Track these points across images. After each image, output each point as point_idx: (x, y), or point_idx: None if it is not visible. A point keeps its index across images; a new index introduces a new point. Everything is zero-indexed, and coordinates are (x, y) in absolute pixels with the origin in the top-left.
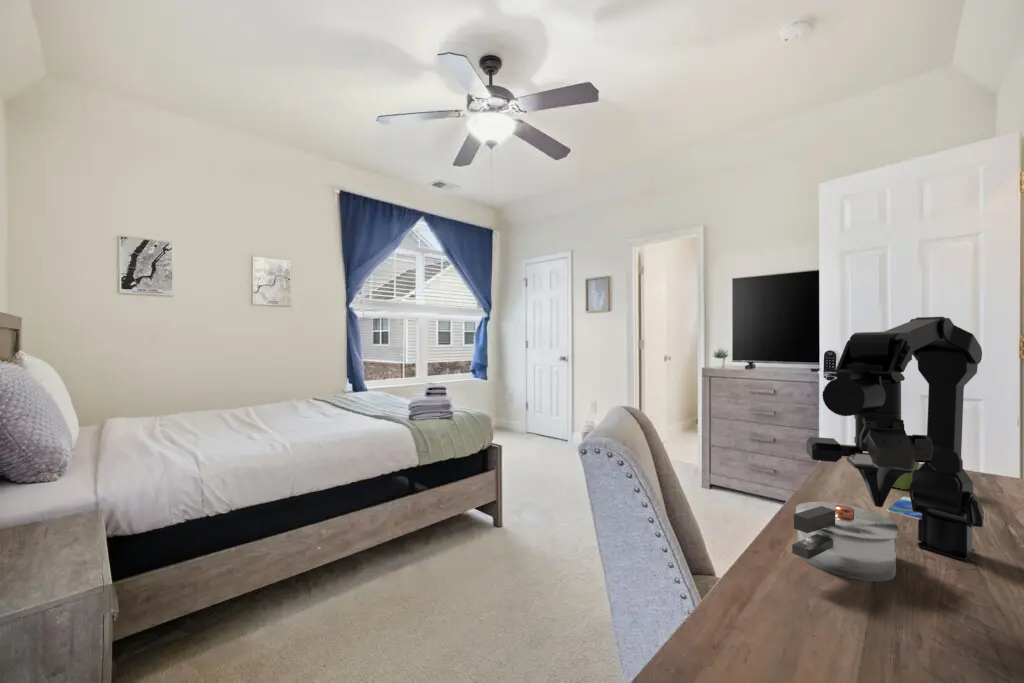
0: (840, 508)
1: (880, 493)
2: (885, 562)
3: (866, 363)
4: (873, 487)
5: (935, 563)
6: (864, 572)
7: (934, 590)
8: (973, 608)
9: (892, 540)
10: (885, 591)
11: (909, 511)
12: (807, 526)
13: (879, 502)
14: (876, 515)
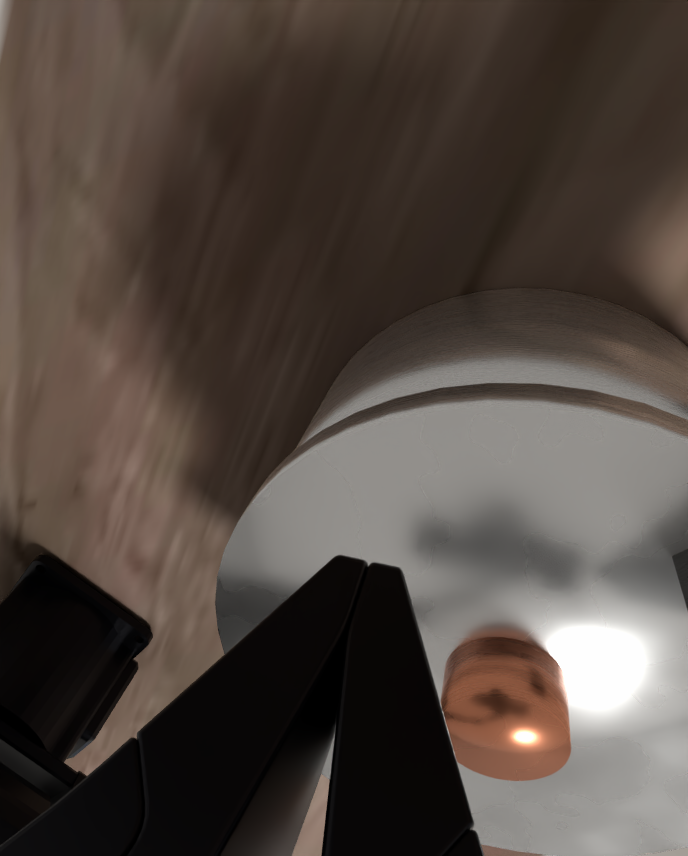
0: (542, 731)
1: (313, 700)
2: (384, 359)
3: None
4: (411, 814)
5: (136, 525)
6: (515, 305)
7: (215, 286)
8: (114, 151)
9: None
10: (455, 198)
11: None
12: None
13: (356, 595)
14: None
